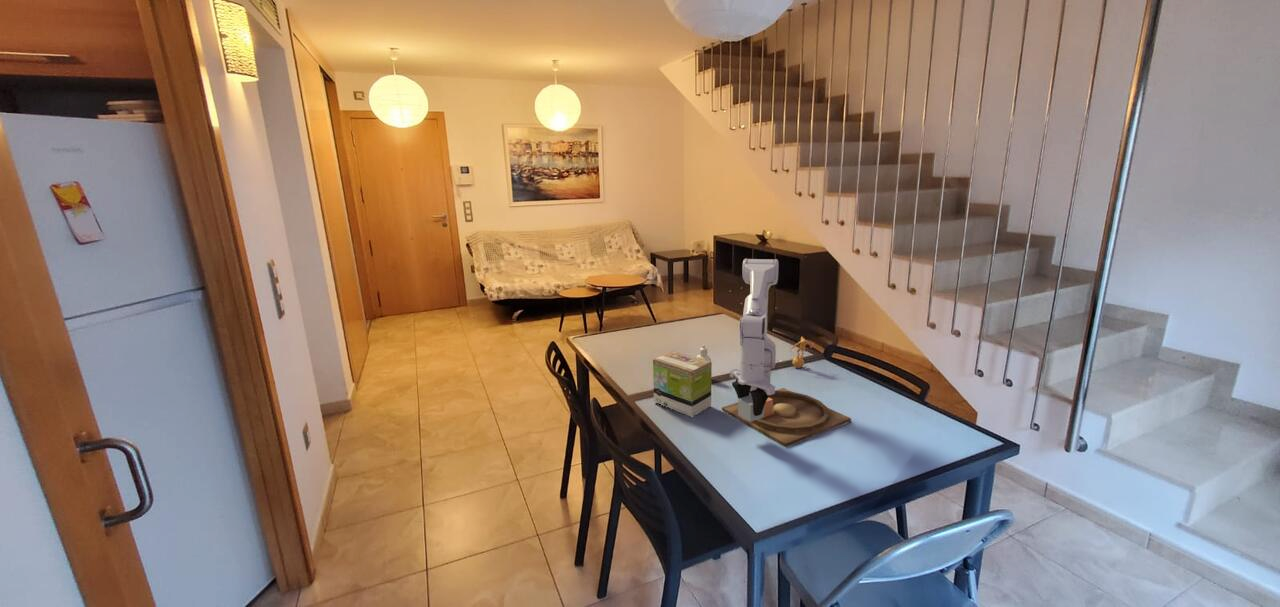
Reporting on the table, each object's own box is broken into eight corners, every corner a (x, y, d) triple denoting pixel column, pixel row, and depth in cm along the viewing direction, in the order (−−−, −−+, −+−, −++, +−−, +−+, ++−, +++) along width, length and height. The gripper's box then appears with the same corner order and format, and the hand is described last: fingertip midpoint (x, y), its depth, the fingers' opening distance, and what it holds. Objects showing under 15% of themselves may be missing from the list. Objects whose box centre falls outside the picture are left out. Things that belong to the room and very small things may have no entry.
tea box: (652, 404, 156) (651, 358, 153) (673, 393, 163) (672, 349, 160) (692, 418, 146) (691, 370, 143) (712, 406, 153) (712, 360, 150)
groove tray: (721, 410, 151) (721, 402, 150) (783, 390, 163) (783, 383, 162) (785, 447, 130) (785, 438, 129) (850, 421, 142) (851, 413, 141)
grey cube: (738, 414, 134) (738, 398, 133) (751, 410, 136) (751, 394, 135) (750, 421, 130) (750, 405, 129) (763, 417, 132) (764, 400, 131)
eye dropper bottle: (708, 374, 177) (708, 341, 174) (711, 381, 172) (711, 347, 169) (695, 375, 177) (695, 342, 174) (698, 382, 172) (698, 348, 169)
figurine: (805, 364, 184) (807, 332, 181) (814, 370, 179) (816, 337, 176) (784, 366, 182) (785, 334, 179) (793, 373, 177) (794, 339, 174)
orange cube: (749, 412, 147) (749, 397, 146) (761, 408, 149) (761, 393, 148) (760, 418, 143) (760, 403, 142) (772, 414, 145) (773, 399, 144)
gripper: (721, 356, 134) (720, 404, 137) (760, 374, 122) (759, 426, 125) (742, 351, 137) (741, 398, 140) (782, 367, 125) (780, 418, 128)
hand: (750, 410), depth 133 cm, fingers closed on grey cube, 5 cm apart
